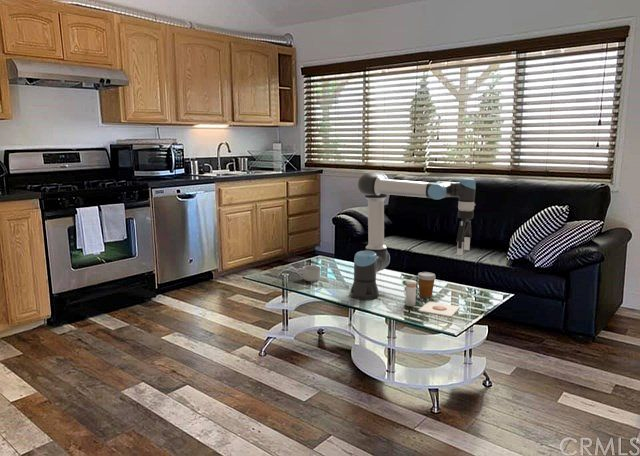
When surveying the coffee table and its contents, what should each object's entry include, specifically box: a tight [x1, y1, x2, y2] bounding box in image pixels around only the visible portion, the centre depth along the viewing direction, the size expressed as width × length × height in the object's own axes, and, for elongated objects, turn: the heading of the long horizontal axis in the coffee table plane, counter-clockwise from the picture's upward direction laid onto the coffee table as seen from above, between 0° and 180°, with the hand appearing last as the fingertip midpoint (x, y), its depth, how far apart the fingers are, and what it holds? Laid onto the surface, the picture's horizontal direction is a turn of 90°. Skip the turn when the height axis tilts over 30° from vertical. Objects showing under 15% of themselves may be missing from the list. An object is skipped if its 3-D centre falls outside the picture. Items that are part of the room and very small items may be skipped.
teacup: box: [296, 264, 322, 283], centre depth 291 cm, size 14×11×8 cm
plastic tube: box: [405, 279, 417, 307], centre depth 248 cm, size 5×5×12 cm
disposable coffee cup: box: [417, 271, 437, 298], centre depth 262 cm, size 10×10×12 cm
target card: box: [418, 300, 461, 318], centre depth 241 cm, size 16×16×1 cm
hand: (463, 252), depth 245 cm, fingers open, 13 cm apart
